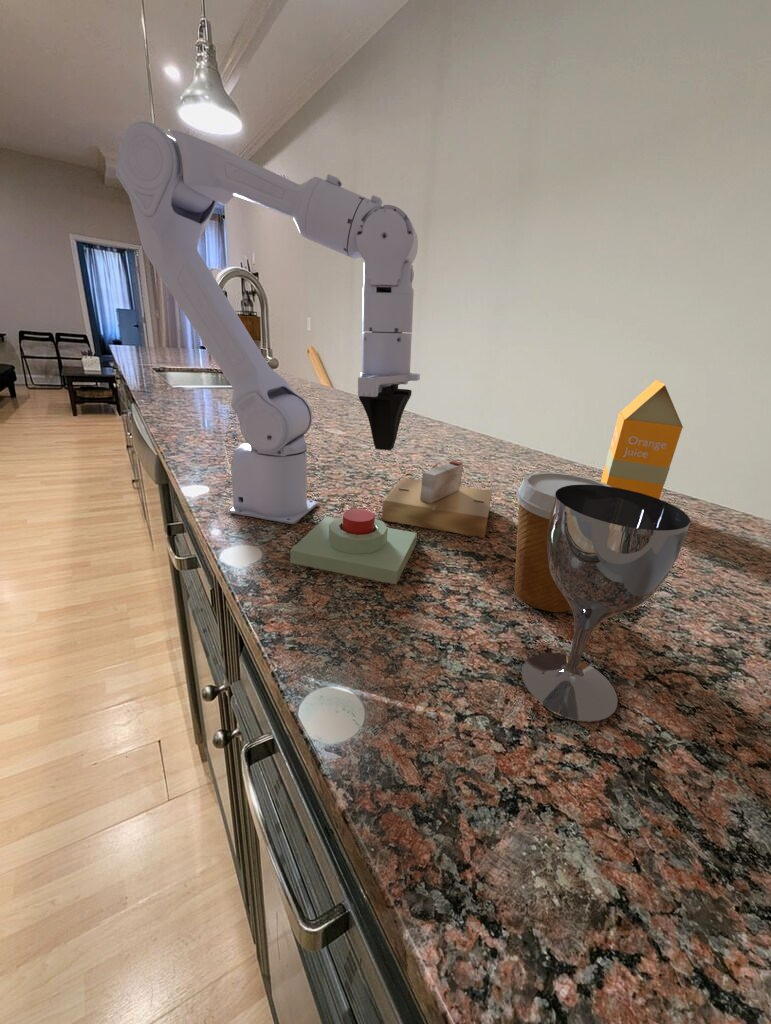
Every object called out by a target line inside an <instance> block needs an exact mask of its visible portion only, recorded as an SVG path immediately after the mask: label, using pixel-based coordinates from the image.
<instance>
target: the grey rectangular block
mask: <svg viewBox="0 0 771 1024" xmlns="http://www.w3.org/2000/svg"><path fill="white" fill-rule="evenodd" d="M463 469H464V464H463V462H460V461H456V460H451V461H449V463H446V464H442V465H440V466H436V467H434V468H432V469H429V470H428V469H427V470H426V471H423V472H422V475H421V476H422V477H421V481H422V485H421V495H420V500H422V501H425V502H428V503H433V502H435V501H437V500H439V499H441V498H444V497H446V496H448V495H450V494H452V493H455V492H457V491H459V490H460V486H461V485H462V477H463Z"/></svg>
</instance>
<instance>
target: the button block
mask: <svg viewBox="0 0 771 1024" xmlns="http://www.w3.org/2000/svg"><path fill="white" fill-rule="evenodd" d="M342 522H343V516H340V517H337V518H335V517H330V516H325V517H324V518H323V519H322V520H321V521H320V522H318V524H316V525H315V526H313V528H312V529H311V530H310V531H309V532H308V533H307V534H306V535H304V536H303V538H301V539H300V540H299V541H298V542H297V543H296V544H295V545H294V546H292V548H291V549H290V550H289V553H290V555H289V556H290V557H289V559H290V560H289V561H290V564H294V565H298V566H303V567H308V568H312V569H313V568H314V569H318V570H322V571H328V572H333V573H338V574H343V575H348V576H352V577H356V578H357V577H358V578H362V579H367V580H372V581H377V582H382V583H387V584H391V585H397V584H398V583H399V580H400V578H401V576H402V574H403V572H404V570H405V568H406V567H407V564H408V562H409V560H410V557H411V555H412V553H413V551H414V549H415V547H416V546H417V538H418V532H415V531H410V530H404V529H403V530H402V529H398V528H392V527H387V525H386V524H385V522H384V521H383V520H380V519H378V518H376V517H375V521H374V531H373V532H372V533H369V534H365V535H355V534H350V533H346V532H344V531H343V530H342Z"/></svg>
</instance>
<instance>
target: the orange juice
mask: <svg viewBox="0 0 771 1024" xmlns="http://www.w3.org/2000/svg"><path fill="white" fill-rule="evenodd" d="M683 429H684V426H683V424H682V421H681V419H680V418H679V415H678V412H677V410H676V407H675V405H674V402H673V400H672V398H671V396H670V393H669V390H668V389H667V386H666V384H665V383H663V382H662V381H660V380H658V379H656V378H655V380H654V381H653V382H651V384H649V386H647V388H645V389H644V390H643V391H642V392H640V394H639V395H637V396H636V397H635V398H634V399H633V400H632V401H631V402H630V403H629V404H627V405H626V406H625V407H624V408H623V409H622V410H620V411H619V412H618V416H617V419H616V422H615V427H614V430H613V434H612V439H611V442H610V446H609V448H608V452H607V454H606V455H607V456H606V459H605V464H604V468H603V470H602V471H603V472H602V476H601V480H600V482H602V483H605V484H607V485H609V486H611V487H615V488H620V489H625V490H630V491H634V492H638V493H642V494H645V495H648V496H651V497H654V498H657V499H660V498H661V496H662V492H663V489H664V486H665V484H666V481H667V478H668V475H669V472H670V468H671V464H672V462H673V458H674V455H675V452H676V449H677V446H678V442H679V440H680V437H681V434H682V430H683Z"/></svg>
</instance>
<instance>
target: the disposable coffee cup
mask: <svg viewBox="0 0 771 1024" xmlns="http://www.w3.org/2000/svg"><path fill="white" fill-rule="evenodd" d="M570 485H600V486H608V487H611V486H609V485H607V484H605V483H602V482H601V480H600V481H599V480H596V479H594V478H590V477H585V476H581V475H576V474H569V473H564V472H563V473H562V472H549V471H547V472H546V471H544V472H543V471H542V472H534V473H530V474H527V475H525V476H524V477H523V479H522V482H521V484H520V485H519V486H518V487H517V488H516V490H515V494H516V497H517V502H518V516H517V517H518V518H517V532H516V533H517V534H516V550H515V552H516V553H515V568H514V582H513V583H514V585H513V590H514V594H515V595H516V596H517V597H518V598H519V600H521V601H522V602H524V603H526V604H527V605H529V606H530V607H533V608H535V609H538V610H541V611H546V612H551V613H564V612H569V611H572V610H571V608H570V606H569V604H568V602H567V601H566V599H565V598H564V596H563V595H562V593H561V592H560V590H559V589H558V587H557V586H556V584H555V582H554V581H553V578H552V576H551V574H550V571H549V567H548V561H547V538H548V525H549V519H550V514H551V508H552V504H553V500H554V496H555V493H556V491H557V490H558V489H560V488H561V487H565V486H570Z"/></svg>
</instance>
